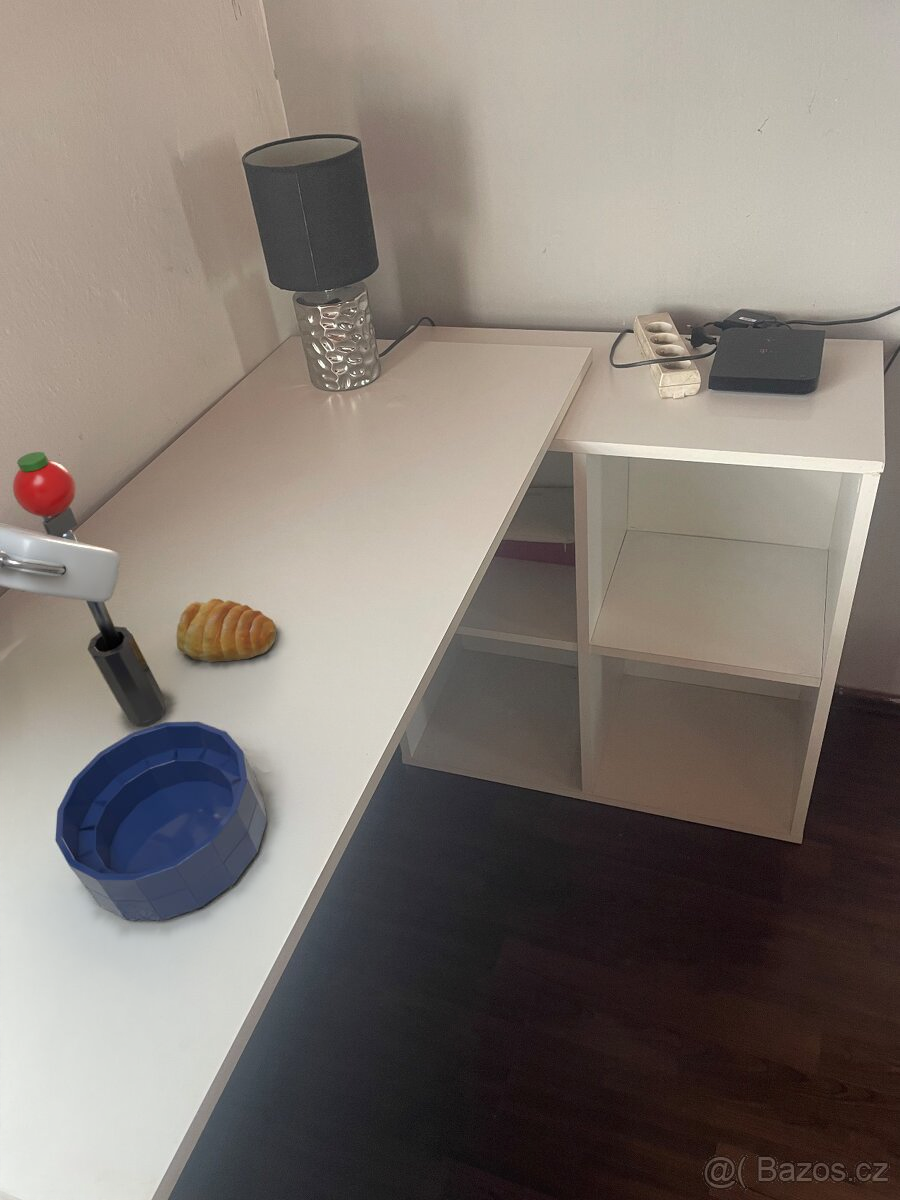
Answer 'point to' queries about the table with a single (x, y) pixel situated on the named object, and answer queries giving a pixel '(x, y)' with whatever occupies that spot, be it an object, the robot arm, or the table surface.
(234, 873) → the bowl
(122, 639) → the cup
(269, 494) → the table surface
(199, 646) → the pastry
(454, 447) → the table surface
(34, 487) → the baster
